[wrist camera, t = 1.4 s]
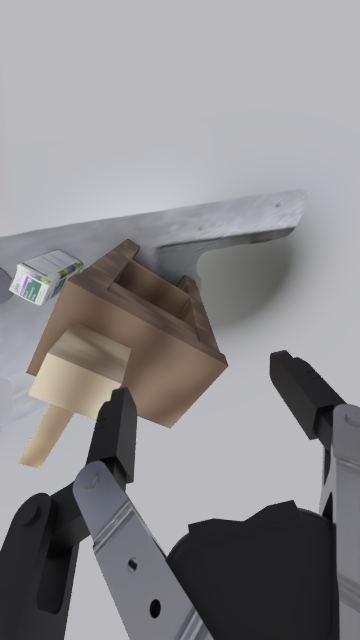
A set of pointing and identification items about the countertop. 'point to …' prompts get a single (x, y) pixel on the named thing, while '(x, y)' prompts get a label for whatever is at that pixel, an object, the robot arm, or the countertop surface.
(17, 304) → the countertop surface
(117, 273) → the shelf
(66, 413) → the mallet
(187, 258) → the countertop surface
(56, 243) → the countertop surface
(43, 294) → the syrup box
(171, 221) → the countertop surface
